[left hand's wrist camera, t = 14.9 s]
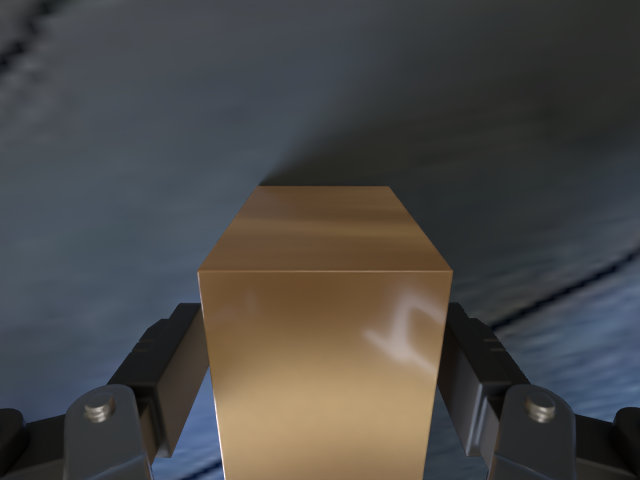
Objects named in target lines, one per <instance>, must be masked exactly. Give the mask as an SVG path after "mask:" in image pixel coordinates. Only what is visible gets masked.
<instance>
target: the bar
mask: <svg viewBox="0 0 640 480" xmlns="http://www.w3.org/2000/svg"><path fill="white" fill-rule="evenodd" d="M197 275H198V283H199V290H200V298H201V305H202V313H203V320H204V328H205V336H206V343H207V351H208V358H209V366H210V373H211V381H212V388H213V396H214V403H215V411H216V418H217V426H218V433H219V441H220V448H221V456H222V463H223V471H224V478H225V480H423V474H424V467H425V460H426V453H427V446H428V440H429V433H430V426H431V419H432V412H433V406H434V399H435V392H436V385H437V378H438V372H439V365H440V358H441V351H442V345H443V338H444V331H445V324H446V317H447V311H448V304H449V297H450V290H451V283H452V277H453V270H452V269H451V268H450V266H449V265H448V264H447V262H446V261H445V260H444V258H443V257H442V256H441V255H440V253H439V252H438V251H437V249H436V248H435V247H434V245H433V244H432V243H431V241H430V240H429V239H428V237H427V236H426V235H425V233H424V232H423V231H422V230H421V228H420V227H419V226H418V224H417V223H416V222H415V220H414V219H413V218H412V216H411V215H410V214H409V212H408V211H407V210H406V208H405V207H404V206H403V205H402V203H401V202H400V201H399V199H398V198H397V197H396V195H395V194H394V193H393V191H392V190H391V189H390V187H389V186H256V188H255V189H254V191H253V192H252V194H251V195H250V196H249V198H248V199H247V201H246V202H245V203H244V205H243V206H242V208H241V209H240V211H239V212H238V213H237V215H236V216H235V218H234V219H233V221H232V222H231V223H230V225H229V226H228V228H227V229H226V230H225V232H224V233H223V235H222V236H221V238H220V239H219V240H218V242H217V243H216V245H215V246H214V248H213V249H212V250H211V252H210V253H209V255H208V256H207V257H206V259H205V260H204V262H203V263H202V265H201V266H200V267H199V269H198V270H197Z"/></svg>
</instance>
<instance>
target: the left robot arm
mask: <svg viewBox="0 0 640 480" xmlns="http://www.w3.org/2000/svg"><path fill="white" fill-rule="evenodd" d="M208 366H209V358H208V351H207V343H206V336H205V328H204V320H203V313H202V305H201V303H180V304H179V305H178V306H177V307H176V309H175V310H174V312H173V313H172V315H171V316H170V318H169V319H161V320H159V321H158V322H157V323H155V324H154V325H152V326H151V327H149V328H148V329H147V330H146V332H145V333H144V334H143V336H142V337H141V338H140V340H139V343H137V344H136V345H135V347H134V348H133V349H132V353H129V355H128V356H127V357H126V359H125V360H124V361H123V363H122V364H121V366H120V367H119V368H118V370H117V371H116V372H115V374H114V375H113V376H112V378H111V379H110V380H109V382H108V383H107V384H106V385H105V386H101V387H98V388H96V389H93V390H91V391H89V392H87V393H86V394H84V395H82V396H81V397H80V398H78V399H77V400H76V401H75V402H74V403H73V404H72V405H71V406H70V407H69V409H68V410H67V412H66V414H64V415H60V416H56V417H52V418H48V419H44V420H39V421H35V422H31V423H27V424H26V423H25V421H24V418H23V415H22V414H21V412H19V411H18V410H15V409H10V408H6V409H0V480H154V476H153V472H152V467H151V466H152V463H153V461H154V459H155V458H171V456H172V454H173V452H174V449H175V447H176V444H177V442H178V439H179V437H180V435H181V432H182V430H183V427H184V425H185V422H186V420H187V417H188V415H189V413H190V410H191V408H192V405H193V403H194V400H195V398H196V396H197V393H198V391H199V388H200V386H201V383H202V381H203V379H204V376H205V374H206V371H207V369H208ZM437 385H438V388H439V390H440V393H441V395H442V398H443V400H444V402H445V405H446V407H447V410H448V412H449V415H450V417H451V420H452V422H453V425H454V427H455V430H456V432H457V435H458V437H459V439H460V442H461V444H462V447H463V449H464V452H465V454H466V456H482V457H483V460H484V462H485V464H486V466H487V469H488V472H487V476H486V480H640V408H637V407H625V408H622V409H620V410H619V411H618V412H617V413H616V416H615V418H614V421H613V423H611V422H607V421H602V420H598V419H594V418H590V417H586V416H581V415H577V414H574V412H573V410H572V409H571V407H570V406H569V405H568V404H567V403H566V402H565V401H564V400H563V399H562V398H560V397H559V396H558V395H556V394H554V393H553V392H551V391H549V390H547V389H544V388H542V387H539V386H535V385H531V383H530V382H529V381H528V379H527V378H526V377H525V375H524V374H523V372H522V371H521V370H520V368H519V367H518V366H517V364H516V363H515V362H514V360H513V359H512V357H511V356H510V355H509V353H508V352H506V350H505V348H504V346H503V345H502V344H501V342H499V341H498V338H497V337H496V336H495V334H494V333H493V331H492V330H491V329H490V328H489V327H488V326H486V325H485V324H484V323H482V322H481V321H479V320H478V319H476V318H469V317H468V316H467V314H466V313H465V311H464V310H463V308H462V307H461V305H460V304H459V303H449V304H448V311H447V317H446V324H445V331H444V338H443V345H442V351H441V358H440V365H439V372H438V378H437Z"/></svg>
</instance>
